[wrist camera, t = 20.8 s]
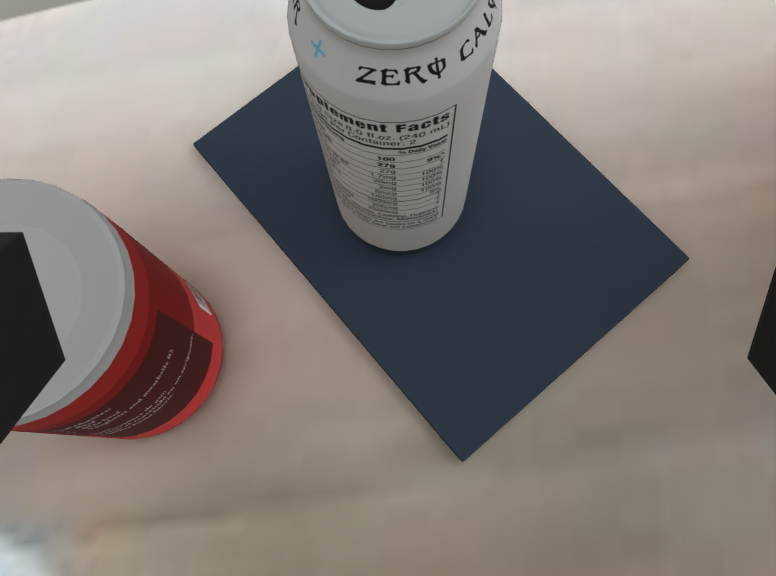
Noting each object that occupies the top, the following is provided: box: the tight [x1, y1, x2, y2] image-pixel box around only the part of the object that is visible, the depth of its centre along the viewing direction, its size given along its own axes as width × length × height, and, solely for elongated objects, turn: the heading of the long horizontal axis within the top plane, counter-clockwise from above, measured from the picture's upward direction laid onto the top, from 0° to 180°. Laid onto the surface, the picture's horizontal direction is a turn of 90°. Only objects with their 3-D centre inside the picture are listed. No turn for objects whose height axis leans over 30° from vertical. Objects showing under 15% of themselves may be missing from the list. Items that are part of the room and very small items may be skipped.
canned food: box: [0, 179, 223, 439], centre depth 24 cm, size 8×8×11 cm
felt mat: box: [194, 66, 689, 462], centre depth 31 cm, size 20×14×1 cm
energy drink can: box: [287, 0, 502, 251], centre depth 24 cm, size 6×6×15 cm
